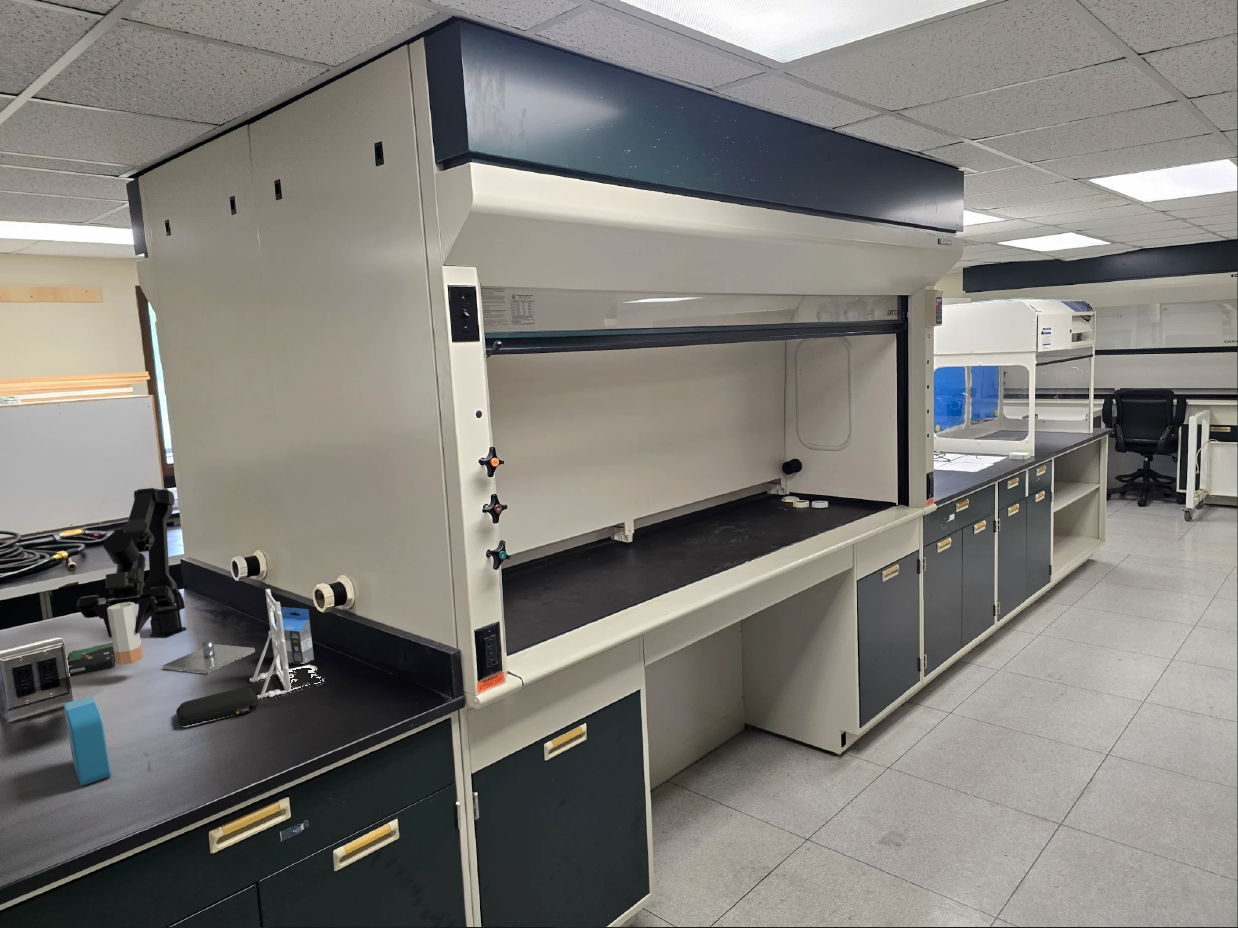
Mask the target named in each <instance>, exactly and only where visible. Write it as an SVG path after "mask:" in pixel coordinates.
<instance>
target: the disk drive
mask: <svg viewBox="0 0 1238 928" xmlns="http://www.w3.org/2000/svg"><path fill="white" fill-rule="evenodd" d="M66 660H68V665H69V673H70V676H71V677H70V678H72V677H77V676H81V675H86V674H91V673H96V672H100V671H105V670H109V669H114V668H115V666H116V660H115V654H114V648H113V642H110V643H105V644H100V645H94V646H92V647H88V648H87V647H86V648H83V649H78V650H72V651H71V652H69V653H68V656H67V658H66Z"/></svg>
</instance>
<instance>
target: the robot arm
mask: <svg viewBox="0 0 1238 928" xmlns="http://www.w3.org/2000/svg"><path fill="white" fill-rule="evenodd" d="M133 499H134V500H133V502H132V507H131V511H130V514H129V516H128V520H127V522H126V523H125V524H123V525H122V526H120V527H119V528H117V529H114V533H112V534H110V535H109V536H108V537H106V538H105V540H104V541H103V545H102V546H103V548H104V549H103V550H105V552H106V553H107V555H108V556H109V558H110V560H111V561H112V563H113V564H115V565H116V572H115V573H108V574H107V573H106V574H105V589H106V590H109V592H108V594H109V595H110V596H113V597H112V598H107V597H106V598H105V597H100V594H93V595H86V596H81V597H79V598H78V600H77V603H76V608H77V609H78V611H79V612H80V614H82V616H83V617H84V618H87V619H92V618H93V619H94V618H99V619H101V620H103V622H104V625H105V629H106V632H107V635H108V637H109V638H112V636H111V630H110V624H109V618H108V612H107V608H108V607H110V606H112V605H115V604H119V603H125V602H133V603H135V605H137V606H138V608H137V609H138V610H137V614H136V615H137V620H136V625H135V632H136V633H140V632H141V630H142V629H143V627H144V626H145V625H146V623H147V621H148V620H149V619H150V618H151V619H150V621H149V622H150V623H149V624H150V629H151V633H149V636H150V637H161V638H168V637H171V636H173V635H176V634H178V633H180V632H183V631H186V630H187V627H185V626H183V624H182V618H181V610H183V609H185V608H186V606H185V601H184V597H183V595H182V593H181V592H180V590H179V588H178V587H177V582H175V580H174V579H173V578H172V576H171V575H170V566H169V565H170V564H169V561H170V560H169V545H168V544H169V543H168V526H167V522H168V521H169V519H170V517H171V516H172V514H173V511H174V509H173V508H174V507H173V506H174V505H175V494H174V493H173V491H170V490H169V489H168V488H164V489H158V488H154V487H149V488H139V489H137V490H134V491H133ZM145 552H148V565H149V566H148V569H149V570H148V571H149V575H148V577H147V579H146V580H144V579H145V578H144V577H145V569H146V566H147V565H146V556H145V555H144V554H142V553H145Z"/></svg>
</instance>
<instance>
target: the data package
mask: <svg viewBox="0 0 1238 928" xmlns="http://www.w3.org/2000/svg"><path fill="white" fill-rule="evenodd" d="M63 710H64V717H65V722H66V728H67V733H68V738H69V745H70V750H71V751H70V752H71V757H72V762H73V767H74V769H75V772H76V775H77V779H78V782H79V784H80V786H81V787H82V786H83V785H84V786H86V785H85V784H87V785H90V784H92V782H93V783H95V781H96V782H99V781H101V779H102V780H104V779H103V778H105V779H107V778H106V777H108V778H111V777H112V770H111V769H112V768H111V762H110V756H109V751H108V744H107V740H106V738H107V737H106V734H105V732H106V731H105V727H104V721H103V716H102V713H101V710H100V708H99V705H98V704H97V701H96V699H95V698H94V696H93V695H92V696H88V697H85V698H80V699H77V700H74V701H69V702H66V703H64V704H63ZM98 780H99V781H98ZM89 783H90V784H89Z"/></svg>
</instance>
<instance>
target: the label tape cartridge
mask: <svg viewBox="0 0 1238 928" xmlns="http://www.w3.org/2000/svg"><path fill="white" fill-rule="evenodd" d="M280 607H281V614H282V622H283V629H284V638H285V645H286V652H287V660H288V664H291V663H293V664H292V665H300V664H305V663H307V664H308V662H309V663H311V662H312V661H314V660H315V657H314V648H313V642H312V641H313V640H312V633H311V631H312V630H311V622H310V614H309V613H310V612H309V609H308V608H297V607H283V606H280ZM294 613H296V614H298V615H295V614H294ZM293 614H294V615H293ZM275 627H276V628H277V622H276V621H275ZM279 658H280V656H279ZM311 660H312V661H311ZM310 661H311V662H310ZM280 663H282V662H281V658H280ZM305 665H306V664H305Z"/></svg>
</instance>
